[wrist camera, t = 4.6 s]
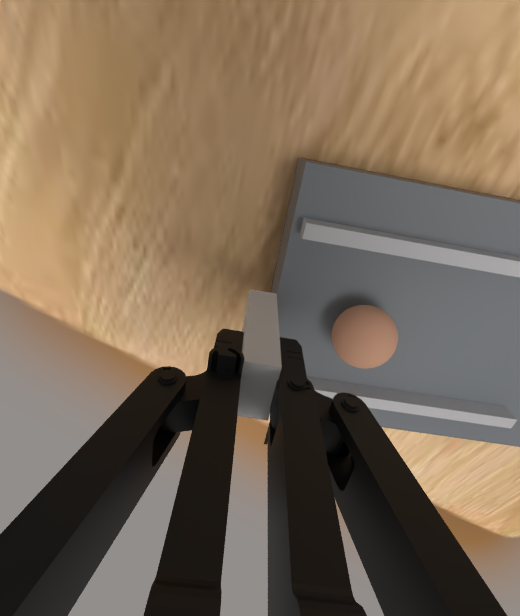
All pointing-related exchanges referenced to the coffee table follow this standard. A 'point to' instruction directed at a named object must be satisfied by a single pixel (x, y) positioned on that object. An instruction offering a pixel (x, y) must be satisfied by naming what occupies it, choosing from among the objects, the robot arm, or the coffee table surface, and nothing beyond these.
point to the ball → (364, 336)
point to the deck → (408, 296)
